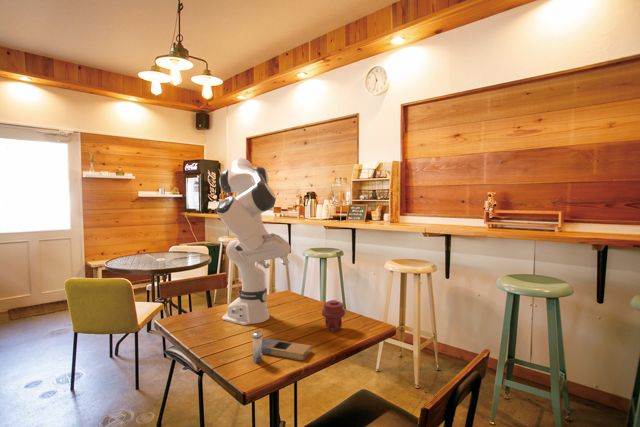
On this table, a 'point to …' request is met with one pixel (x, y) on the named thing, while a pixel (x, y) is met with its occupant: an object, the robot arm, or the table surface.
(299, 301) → the table surface
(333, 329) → the mechanical component
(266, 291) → the robot arm
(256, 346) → the metal peg
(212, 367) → the table surface
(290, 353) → the two-tone slotted plate
